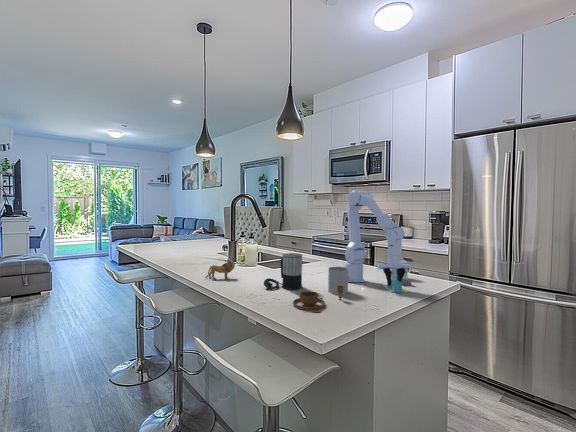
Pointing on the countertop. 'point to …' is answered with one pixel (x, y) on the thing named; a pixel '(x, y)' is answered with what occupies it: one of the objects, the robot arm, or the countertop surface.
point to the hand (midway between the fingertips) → (393, 285)
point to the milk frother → (289, 272)
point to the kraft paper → (402, 289)
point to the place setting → (312, 300)
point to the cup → (337, 279)
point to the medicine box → (394, 272)
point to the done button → (404, 277)
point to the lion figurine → (221, 269)
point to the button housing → (406, 282)
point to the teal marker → (395, 285)
